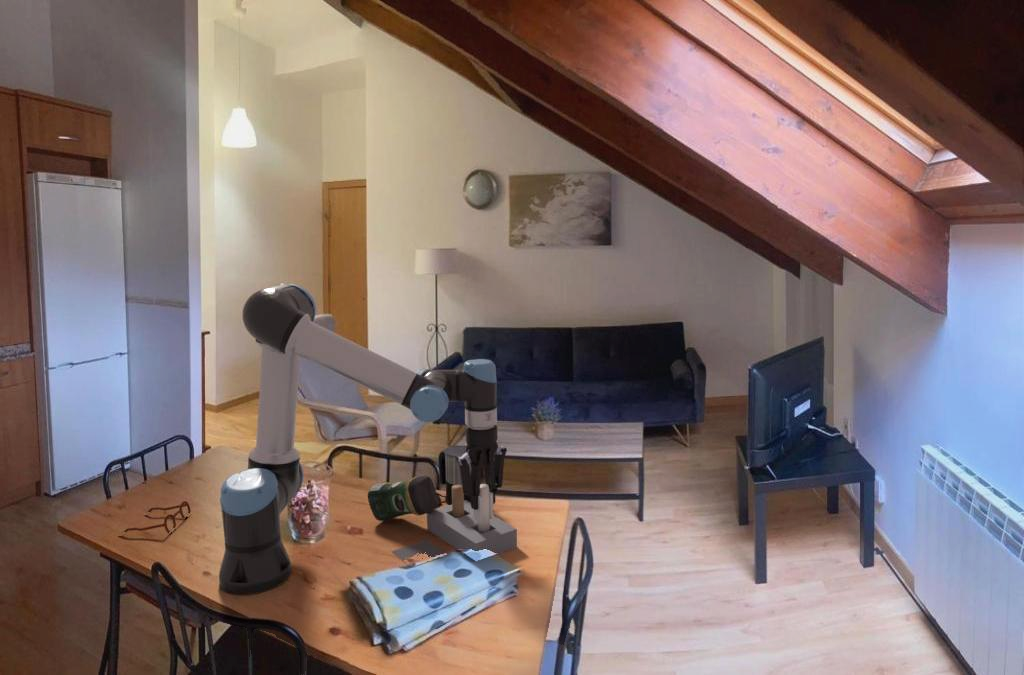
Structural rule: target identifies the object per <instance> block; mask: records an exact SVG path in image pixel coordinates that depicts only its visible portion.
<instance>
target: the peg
mask: <svg viewBox="0 0 1024 675" xmlns="http://www.w3.org/2000/svg"><path fill="white" fill-rule="evenodd" d="M479 496H482V509H483V522H482V523H479V522H478V532H479V533H480V534H482V533H485V532H488V531H490V505H489V485H487V484H486V483H480V493H479Z"/></svg>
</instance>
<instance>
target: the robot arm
mask: <svg viewBox="0 0 1024 675" xmlns="http://www.w3.org/2000/svg"><path fill="white" fill-rule="evenodd" d="M316 314H317V306H316V302H315V299H314V298H313V296H312V295H311V293H310V292H309V291H308V290H307V289H306V288H304V287H302V286H300V285H297V284H294V283H280V284H276V285H273V286H271V287H267V288H263V289H260V290H257V291H256V292H254V293H252V294H251V295H250V296H249V297H248V298H247V300H246V301H245V303H244V305H243V308H242V321H243V325H244V327H245V329H246V331H247V332H248V334H250V335H251V336H252V337H253V338H254V339H255V343H256V344H257V345H258V346H259V348H261V362H260V375H259V376H260V377H259V393H258V394H259V395H258V408H257V410H258V411H257V424H256V425H257V426H256V438H255V439H256V441H255V443H256V444H255V447H254V448H252V449H251V450H250V451H249V453H248V461H247V469H244V470H240V471H239V472H237V473H233V474H232V475H230V476H229V477H228V478H226V479H225V480H224V482H223V483H222V485H221V486H220V487H221V488H220V499H219V502H220V507H221V508H220V509H221V516H222V525H223V526H222V527H223V528H222V529H223V537H224V548H225V549H224V554H223V557H222V560H221V564H220V569H219V573H218V580H219V586H220V588H221V590H222V591H225V592H226V593H229V594H233V595H253V594H259V593H262V592H267V591H269V590H273V589H274V588H277V587H278V586H281V584H283V583H285V582H286V581H287V580H288V579H289V578H290V576H291V574H292V561H291V558H290V556H289V554H288V552H287V549H286V548H285V546H284V543H283V541H282V537H281V536H282V535H281V534H282V533H281V520H280V515H281V513H282V512H283V511H284V510H285V509H286V507H287V506H288V504H290V502H292V500H293V499H294V498H295V497H296V496H297V495H298V494H299V491H300V490H301V487H302V484H303V482H304V474H305V473H304V468H303V466H302V463H301V462H300V459H301V453H300V452H299V450H297V448H296V447H295V438H296V437H295V436H296V427H297V426H296V425H297V422H296V421H297V413H298V412H297V411H298V410H297V409H298V396H299V395H298V394H299V380H300V367H301V358H304V359H305V360H308V361H310V362H312V363H313V364H316V365H318V366H320V367H322V368H324V369H325V370H328V371H329V372H330V371H331V373H335V374H337V375H338V376H341V377H343V378H345V379H347V380H349V381H351V382H353V383H355V384H357V385H359V386H361V387H364V388H366V389H367V390H370V391H372V392H374V393H376V394H378V395H380V396H382V397H384V398H386V399H388V400H390V401H392V402H395V403H397V404H399V405H400V406H402V407H405V408H406V409H408V410H410V411H411V413H412V415H413V416H414V417H415V418H416V419H417V420H419V421H420V422H423V423H433V422H436V421H438V420H440V418H442V417H443V415H444V414H445V413H446V412H447V410H448V408H449V403H451V402H453V403H454V402H455V403H457V402H460V403H461V402H464V423H465V425H466V427H465V442H466V446H467V448H466V453H465V454H464V455H463V456H461V457H460V456H458V457H457V458H456V460H457V462H458V464H459V466H460V473H461V480H462V487H463V493H464V494H466V495H467V496H469V497H471V508H472V509H474V520H476V521H477V522H479V523H482V522H483V509H482V496H479V493H480V484H481V481H482V480H481V478H482V470H483V471H484V479H485V480H484V481H485V484H487V485H489V505H490V519H493V516H494V505H495V504H496V494H497V493H498V492H499V488H502V486H503V482H504V481H503V480H504V478H503V477H504V465H505V457H506V453H507V451H508V449H507V448H506V447H504V446H502V445H499V444H498V442H497V441H498V440H499V439H498V438H499V437H498V426H497V424H498V404H497V403H498V402H497V401H498V399H497V397H498V396H497V395H498V394H497V389H498V388H497V386H498V385H497V384H498V383H497V382H498V380H497V368H496V364H495V363H494V361H492V360H491V359H486V358H477V359H469V360H466V361H465V362H464V363H463V367H462V368H460V369H429V368H427V369H422V370H421V369H419V370H416V371H413V370H411V369H410V368H407V367H405V366H403V365H401V364H399V363H398V362H395V361H393V360H391V359H389V358H386V357H385V356H382V355H380V354H378V353H376V352H374V351H372V350H370V349H368V348H366V347H364V346H362V345H360V344H358V343H356V342H354V341H352V340H349V339H348V338H345V337H344V336H342V335H340V334H338V333H336V332H334V331H331V330H330V329H327V328H326V327H324V326H321V325H319V324H317V323H315V322H314V320H315V318H316ZM469 458H470V460H471V463H470V465H471V474H470V467H469Z"/></svg>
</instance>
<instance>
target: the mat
mask: <svg viewBox="0 0 1024 675" xmlns="http://www.w3.org/2000/svg"><path fill="white" fill-rule="evenodd" d="M425 552H426V553H425ZM391 553H392V554H393V555H395V556H396V557H397V558H399V559H400V560H401V561H402V562H403V561H404V560H406V559H407V558H409V557H410V558H411V557H413V556H414V555H416V554H417V553H419V554H421V553H422V554H424V553H425V554H427V555H428V557H430V556H431V557H435V556H436V555H440V554H444V553H447V551H444V550H443V549H441V547H439V546H438V545H436V544H435V543H433V542H431V541H430V540H429V539H424V540H422V541H418V542H415V543H413V544H410V545H407V546H404V547H401V548H397V549H395V550H392V551H391ZM419 554H418V555H419ZM418 555H417V556H418ZM406 557H407V558H406ZM405 558H406V559H405ZM422 559H423V558H422ZM408 560H409V559H408Z"/></svg>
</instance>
